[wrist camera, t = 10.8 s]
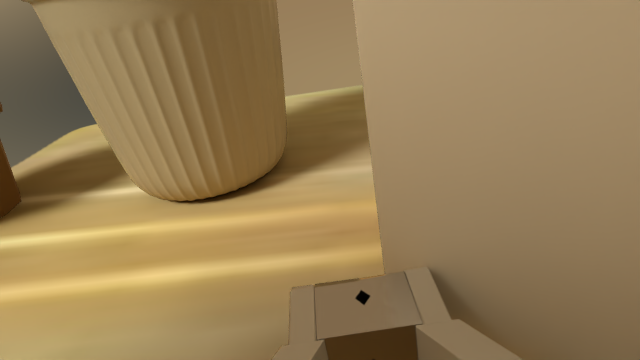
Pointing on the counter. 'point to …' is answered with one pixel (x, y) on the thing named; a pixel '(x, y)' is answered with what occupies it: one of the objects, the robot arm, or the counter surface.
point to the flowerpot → (7, 184)
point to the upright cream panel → (512, 164)
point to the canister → (178, 87)
